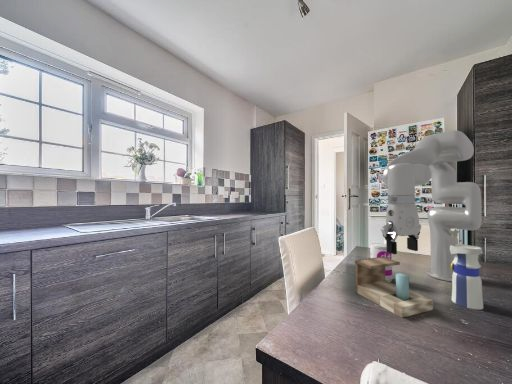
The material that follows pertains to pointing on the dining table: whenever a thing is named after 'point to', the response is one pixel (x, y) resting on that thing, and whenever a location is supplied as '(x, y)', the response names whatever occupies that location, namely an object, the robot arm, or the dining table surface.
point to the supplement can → (381, 251)
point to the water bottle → (466, 275)
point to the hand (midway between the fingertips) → (402, 251)
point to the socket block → (386, 288)
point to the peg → (402, 286)
